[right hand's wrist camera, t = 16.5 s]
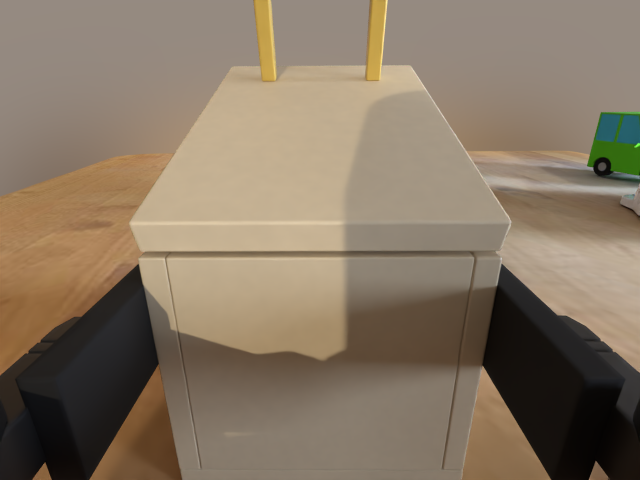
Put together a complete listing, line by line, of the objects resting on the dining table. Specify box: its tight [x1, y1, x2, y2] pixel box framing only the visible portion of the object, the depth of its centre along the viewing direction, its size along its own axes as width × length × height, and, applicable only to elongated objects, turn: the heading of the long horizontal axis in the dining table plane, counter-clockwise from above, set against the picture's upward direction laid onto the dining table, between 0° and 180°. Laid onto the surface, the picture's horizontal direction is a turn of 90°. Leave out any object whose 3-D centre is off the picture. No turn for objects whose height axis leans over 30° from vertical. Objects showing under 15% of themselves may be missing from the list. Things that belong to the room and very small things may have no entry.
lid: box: [129, 0, 511, 252], centre depth 13 cm, size 14×10×8 cm
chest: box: [138, 251, 502, 480], centre depth 18 cm, size 14×10×9 cm
